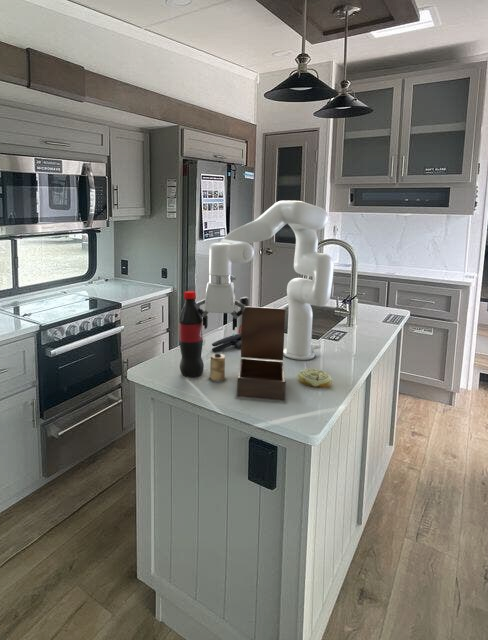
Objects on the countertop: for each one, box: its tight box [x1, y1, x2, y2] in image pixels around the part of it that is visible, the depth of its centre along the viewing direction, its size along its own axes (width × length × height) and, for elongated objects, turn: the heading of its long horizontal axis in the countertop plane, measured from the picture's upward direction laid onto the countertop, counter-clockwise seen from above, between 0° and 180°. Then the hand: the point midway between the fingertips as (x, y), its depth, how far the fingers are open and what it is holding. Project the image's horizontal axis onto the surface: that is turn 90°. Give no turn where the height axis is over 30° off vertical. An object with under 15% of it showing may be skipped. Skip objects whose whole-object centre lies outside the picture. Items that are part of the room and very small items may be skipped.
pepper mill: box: [209, 352, 226, 381], centre depth 148 cm, size 5×5×10 cm
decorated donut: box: [298, 368, 333, 389], centre depth 147 cm, size 10×11×4 cm
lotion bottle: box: [236, 296, 250, 334], centre depth 191 cm, size 6×6×20 cm
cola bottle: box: [178, 290, 205, 378], centre depth 151 cm, size 8×8×30 cm
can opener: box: [211, 333, 242, 353], centre depth 181 cm, size 18×7×6 cm, turn 121°
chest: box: [236, 357, 286, 401], centre depth 142 cm, size 18×15×7 cm
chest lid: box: [240, 306, 286, 361], centre depth 149 cm, size 18×15×1 cm
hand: (219, 328), depth 147 cm, fingers open, 9 cm apart
